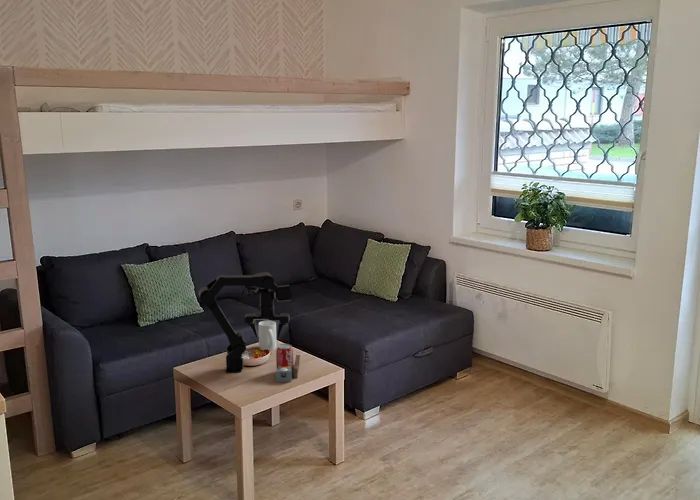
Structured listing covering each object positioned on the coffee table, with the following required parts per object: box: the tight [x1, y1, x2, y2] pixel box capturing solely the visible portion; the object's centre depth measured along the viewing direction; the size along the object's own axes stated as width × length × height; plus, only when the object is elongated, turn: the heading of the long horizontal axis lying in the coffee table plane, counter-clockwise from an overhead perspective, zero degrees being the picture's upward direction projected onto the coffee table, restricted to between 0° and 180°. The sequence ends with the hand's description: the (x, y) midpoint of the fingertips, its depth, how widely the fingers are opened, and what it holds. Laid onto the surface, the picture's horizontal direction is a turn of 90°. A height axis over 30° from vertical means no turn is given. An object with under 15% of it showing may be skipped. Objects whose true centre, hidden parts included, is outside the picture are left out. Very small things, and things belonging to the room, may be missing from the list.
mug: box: [257, 320, 277, 351], centre depth 300 cm, size 8×12×12 cm
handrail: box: [293, 354, 301, 379], centre depth 276 cm, size 2×15×4 cm, turn 1°
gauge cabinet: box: [275, 368, 293, 383], centre depth 267 cm, size 6×4×5 cm, turn 91°
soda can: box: [275, 343, 294, 373], centre depth 273 cm, size 7×7×12 cm
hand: (267, 337), depth 279 cm, fingers open, 9 cm apart
